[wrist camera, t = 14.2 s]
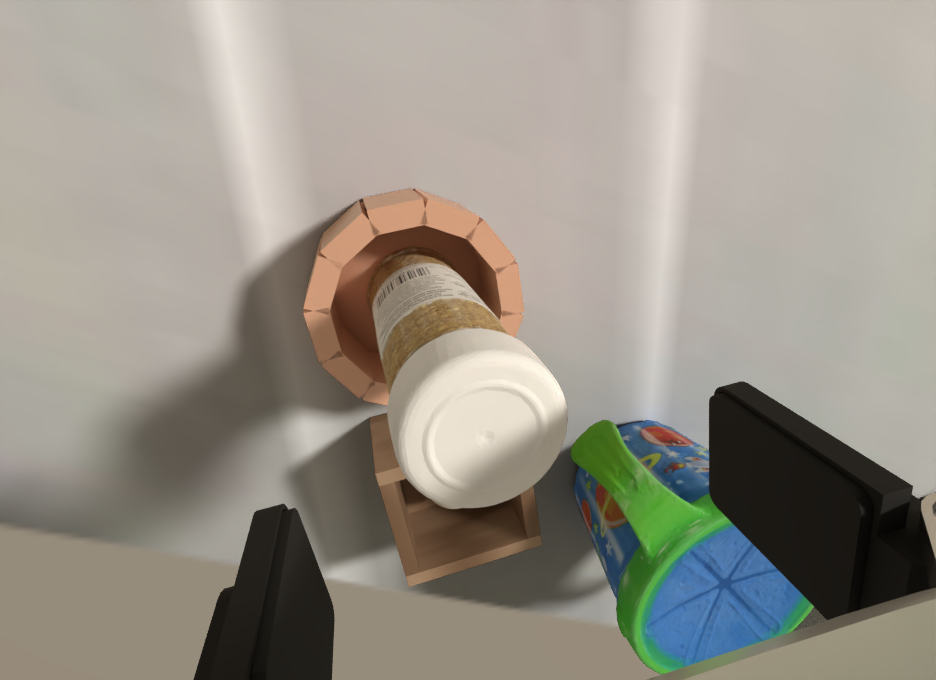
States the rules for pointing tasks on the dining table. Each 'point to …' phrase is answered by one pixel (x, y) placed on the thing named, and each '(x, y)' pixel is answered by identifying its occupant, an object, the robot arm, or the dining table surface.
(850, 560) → the robot arm
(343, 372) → the pot
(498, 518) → the walnut box
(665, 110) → the dining table surface
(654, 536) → the snack cup
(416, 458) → the sprinkles bottle
